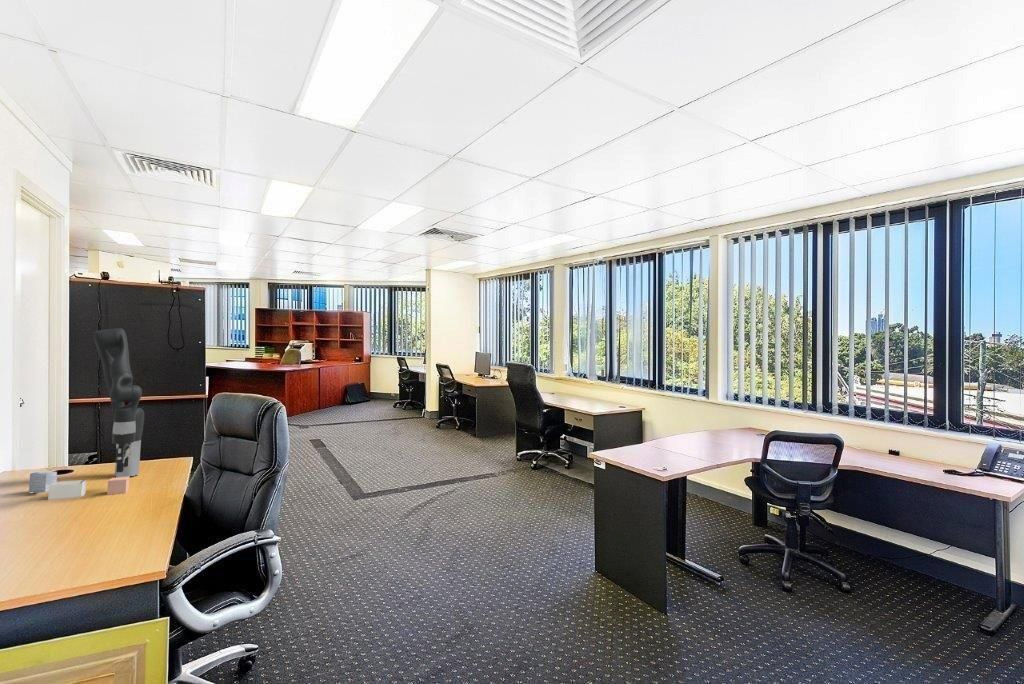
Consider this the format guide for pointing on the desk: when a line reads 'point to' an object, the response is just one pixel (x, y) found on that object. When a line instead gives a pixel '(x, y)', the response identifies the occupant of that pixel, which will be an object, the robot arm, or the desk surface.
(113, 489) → the pink cube block
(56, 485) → the ticket block
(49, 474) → the medicine box
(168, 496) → the desk surface
